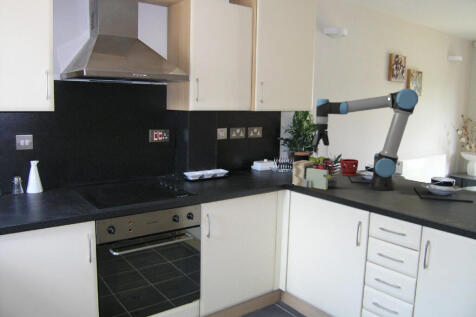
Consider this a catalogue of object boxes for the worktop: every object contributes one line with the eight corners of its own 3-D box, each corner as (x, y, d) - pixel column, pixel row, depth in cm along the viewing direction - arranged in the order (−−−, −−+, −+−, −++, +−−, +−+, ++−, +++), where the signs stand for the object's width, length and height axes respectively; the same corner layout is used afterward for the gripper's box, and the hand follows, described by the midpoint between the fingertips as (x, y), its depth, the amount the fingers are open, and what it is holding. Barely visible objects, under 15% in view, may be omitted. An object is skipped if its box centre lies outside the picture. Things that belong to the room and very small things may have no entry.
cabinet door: (327, 188, 253) (328, 170, 251) (324, 189, 250) (325, 171, 248) (307, 185, 261) (308, 167, 259) (305, 186, 258) (305, 168, 256)
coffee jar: (309, 179, 284) (310, 154, 282) (294, 178, 284) (295, 154, 282) (307, 176, 295) (308, 152, 292) (292, 175, 295) (293, 152, 292)
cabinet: (313, 183, 270) (314, 161, 268) (303, 186, 258) (304, 163, 256) (302, 181, 275) (302, 160, 273) (291, 184, 264) (292, 162, 261)
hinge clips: (315, 186, 260) (315, 177, 259) (310, 187, 255) (311, 178, 254) (306, 184, 263) (307, 176, 262) (302, 186, 258) (302, 177, 258)
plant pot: (346, 173, 312) (347, 158, 310) (360, 175, 302) (361, 160, 300) (336, 174, 304) (337, 159, 302) (350, 177, 294) (351, 161, 292)
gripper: (324, 122, 261) (323, 154, 264) (307, 123, 241) (306, 157, 244) (335, 123, 257) (333, 155, 259) (318, 124, 237) (317, 159, 240)
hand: (320, 156), depth 252 cm, fingers open, 13 cm apart
